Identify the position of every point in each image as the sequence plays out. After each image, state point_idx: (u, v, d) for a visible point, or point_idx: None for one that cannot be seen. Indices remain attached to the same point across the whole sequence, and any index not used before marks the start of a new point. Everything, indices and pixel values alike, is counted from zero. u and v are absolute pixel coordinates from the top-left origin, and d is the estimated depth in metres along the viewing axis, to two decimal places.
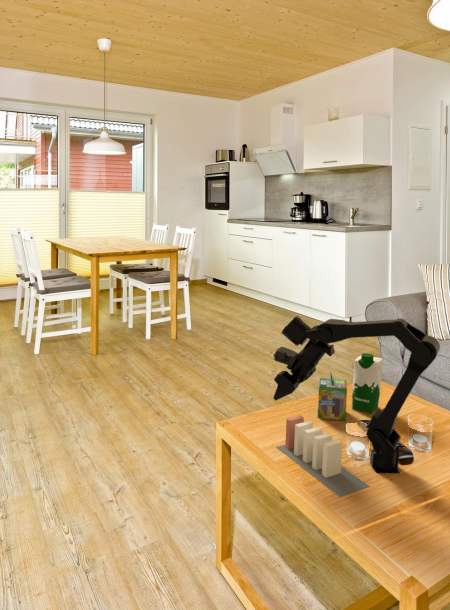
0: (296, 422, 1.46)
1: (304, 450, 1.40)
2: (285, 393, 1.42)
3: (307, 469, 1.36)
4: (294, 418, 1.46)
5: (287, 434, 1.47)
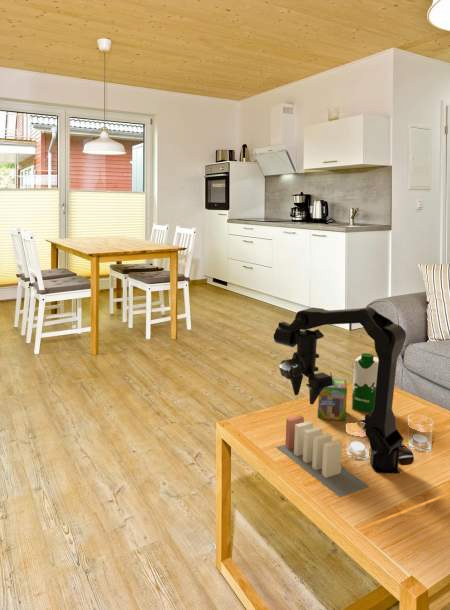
0: (296, 422, 1.46)
1: (304, 450, 1.40)
2: (320, 389, 1.48)
3: (307, 469, 1.36)
4: (294, 418, 1.46)
5: (287, 434, 1.47)
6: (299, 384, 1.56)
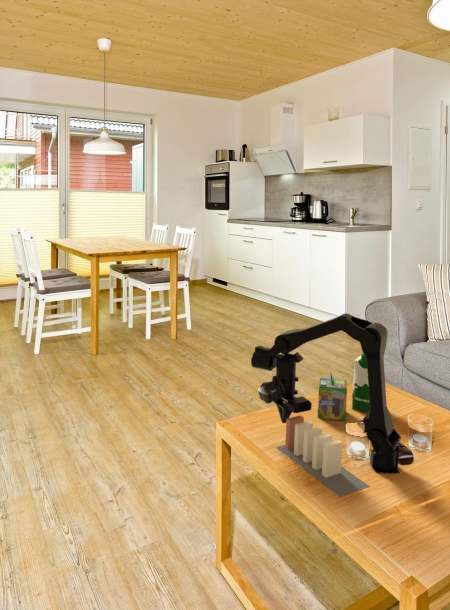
0: (296, 422, 1.46)
1: (304, 450, 1.40)
2: None
3: (307, 469, 1.36)
4: (294, 418, 1.46)
5: (287, 434, 1.47)
6: None
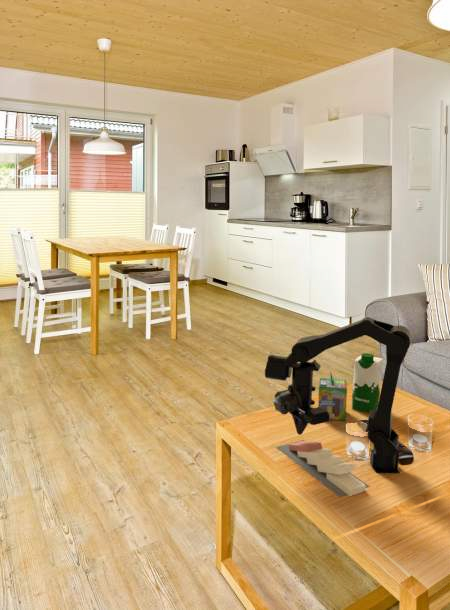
0: None
1: (314, 461, 1.36)
2: None
3: (307, 469, 1.36)
4: (313, 448, 1.40)
5: (297, 447, 1.43)
6: None
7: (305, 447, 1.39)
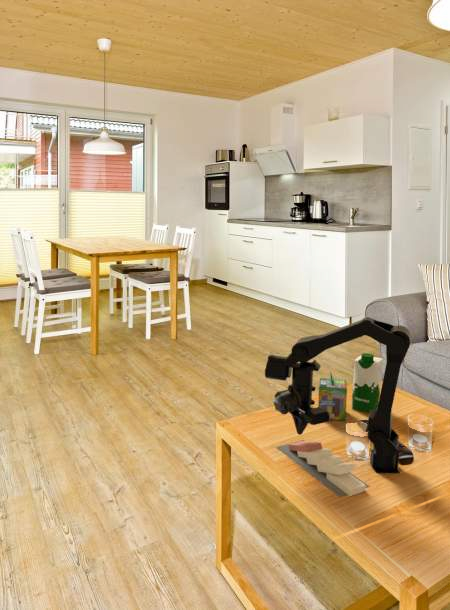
0: None
1: (314, 461, 1.36)
2: None
3: (307, 469, 1.36)
4: (313, 448, 1.40)
5: (297, 447, 1.43)
6: None
7: (305, 447, 1.39)
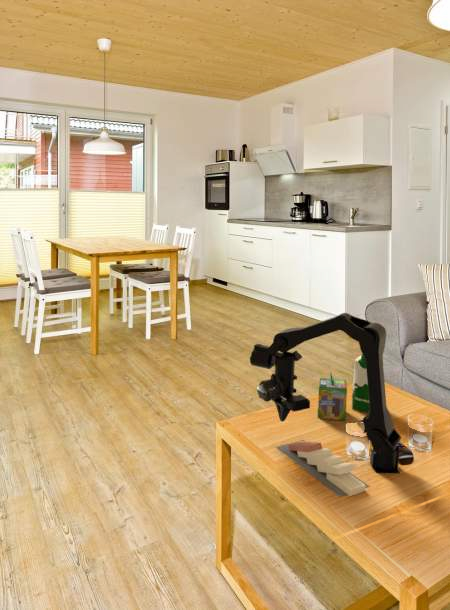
0: None
1: (314, 461, 1.36)
2: None
3: (307, 469, 1.36)
4: (313, 448, 1.40)
5: (297, 447, 1.43)
6: None
7: (305, 447, 1.39)
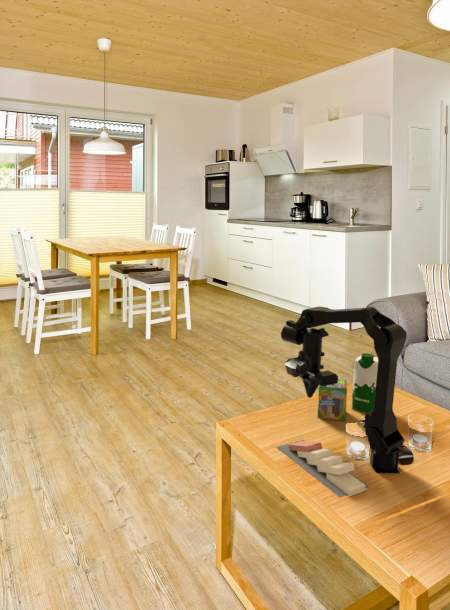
0: None
1: (314, 461, 1.36)
2: (318, 383, 1.53)
3: (307, 469, 1.36)
4: (313, 448, 1.40)
5: (297, 447, 1.43)
6: None
7: (305, 447, 1.39)
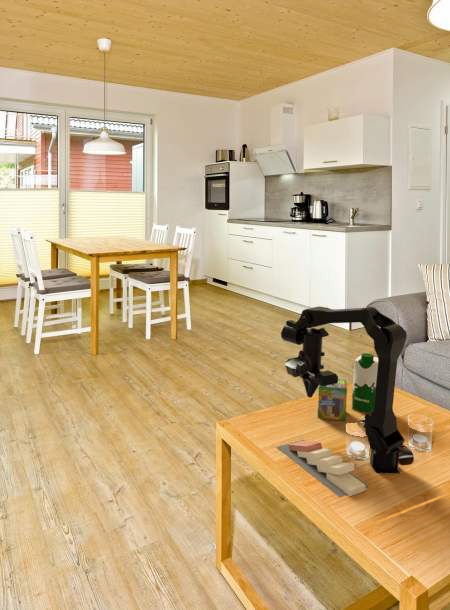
0: None
1: (314, 461, 1.36)
2: None
3: (307, 469, 1.36)
4: (313, 448, 1.40)
5: (297, 447, 1.43)
6: None
7: (305, 447, 1.39)
